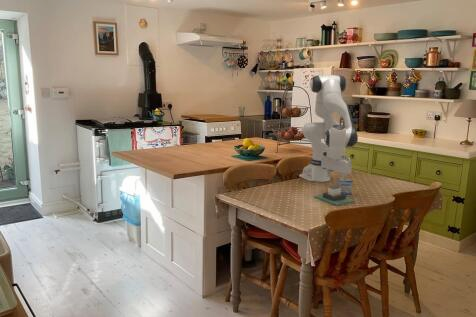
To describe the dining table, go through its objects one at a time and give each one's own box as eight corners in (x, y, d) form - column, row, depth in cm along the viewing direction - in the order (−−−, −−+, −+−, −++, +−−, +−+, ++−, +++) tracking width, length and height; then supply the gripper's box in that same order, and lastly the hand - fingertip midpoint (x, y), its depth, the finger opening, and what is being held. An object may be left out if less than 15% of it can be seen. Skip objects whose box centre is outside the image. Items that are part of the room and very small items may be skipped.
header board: (313, 197, 225) (314, 191, 225) (331, 194, 232) (332, 188, 232) (336, 206, 210) (336, 199, 210) (354, 202, 217) (355, 196, 217)
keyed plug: (327, 197, 221) (328, 186, 220) (335, 196, 224) (336, 185, 223) (332, 199, 218) (333, 188, 217) (340, 198, 221) (341, 186, 220)
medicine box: (339, 195, 231) (340, 181, 229) (336, 193, 235) (336, 179, 233) (351, 194, 232) (352, 180, 230) (348, 192, 236) (349, 178, 235)
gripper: (355, 157, 209) (353, 182, 212) (328, 150, 226) (326, 173, 229) (346, 158, 206) (344, 183, 209) (319, 151, 223) (318, 175, 226)
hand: (335, 178), depth 219 cm, fingers open, 8 cm apart
